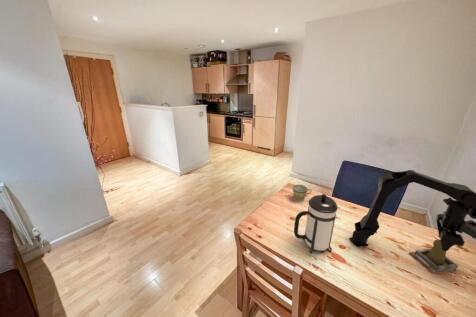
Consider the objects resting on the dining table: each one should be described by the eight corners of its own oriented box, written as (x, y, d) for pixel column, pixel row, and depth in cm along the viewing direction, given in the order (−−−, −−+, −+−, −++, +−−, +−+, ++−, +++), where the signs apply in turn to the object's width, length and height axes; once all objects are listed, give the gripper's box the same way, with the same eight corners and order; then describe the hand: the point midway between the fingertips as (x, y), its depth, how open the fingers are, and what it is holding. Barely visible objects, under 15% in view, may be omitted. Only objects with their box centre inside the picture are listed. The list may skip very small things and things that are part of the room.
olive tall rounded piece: (447, 267, 88) (456, 248, 84) (431, 265, 89) (439, 246, 86) (437, 256, 94) (445, 238, 90) (422, 254, 95) (430, 236, 91)
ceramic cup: (292, 203, 139) (293, 190, 136) (290, 195, 148) (292, 184, 145) (311, 204, 137) (313, 192, 133) (309, 197, 146) (310, 185, 143)
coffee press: (307, 229, 113) (314, 183, 103) (336, 244, 103) (347, 194, 92) (291, 246, 102) (296, 195, 92) (322, 264, 91) (332, 209, 81)
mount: (431, 273, 86) (433, 268, 85) (408, 253, 97) (410, 249, 96) (455, 270, 88) (458, 265, 87) (430, 251, 98) (432, 246, 97)
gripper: (492, 235, 71) (474, 268, 76) (477, 210, 85) (463, 239, 90) (448, 223, 78) (435, 254, 83) (441, 202, 91) (430, 229, 97)
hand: (442, 244), depth 88 cm, fingers open, 9 cm apart
